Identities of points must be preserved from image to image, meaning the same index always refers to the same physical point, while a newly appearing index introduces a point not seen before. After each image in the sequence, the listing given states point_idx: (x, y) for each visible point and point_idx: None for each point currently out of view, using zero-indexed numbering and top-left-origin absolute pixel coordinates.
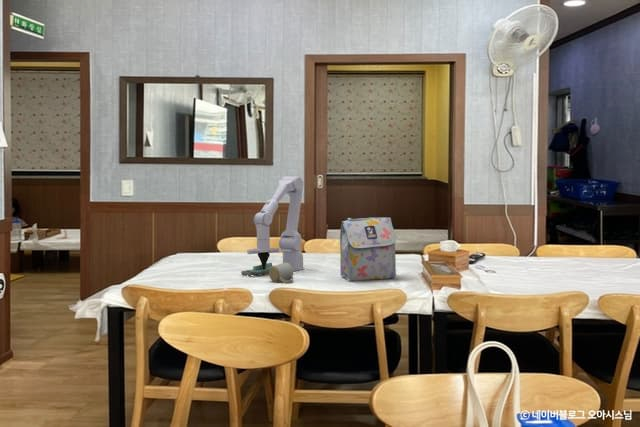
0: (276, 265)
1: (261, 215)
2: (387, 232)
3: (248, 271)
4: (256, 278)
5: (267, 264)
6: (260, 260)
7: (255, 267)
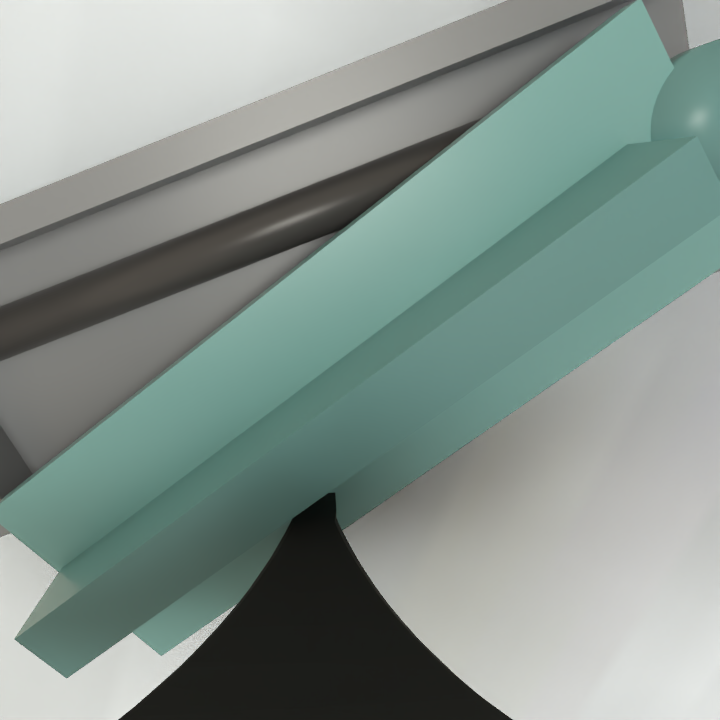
0: None
1: None
2: None
3: (2, 343)
4: (125, 677)
5: (505, 356)
6: (226, 630)
7: (80, 656)
